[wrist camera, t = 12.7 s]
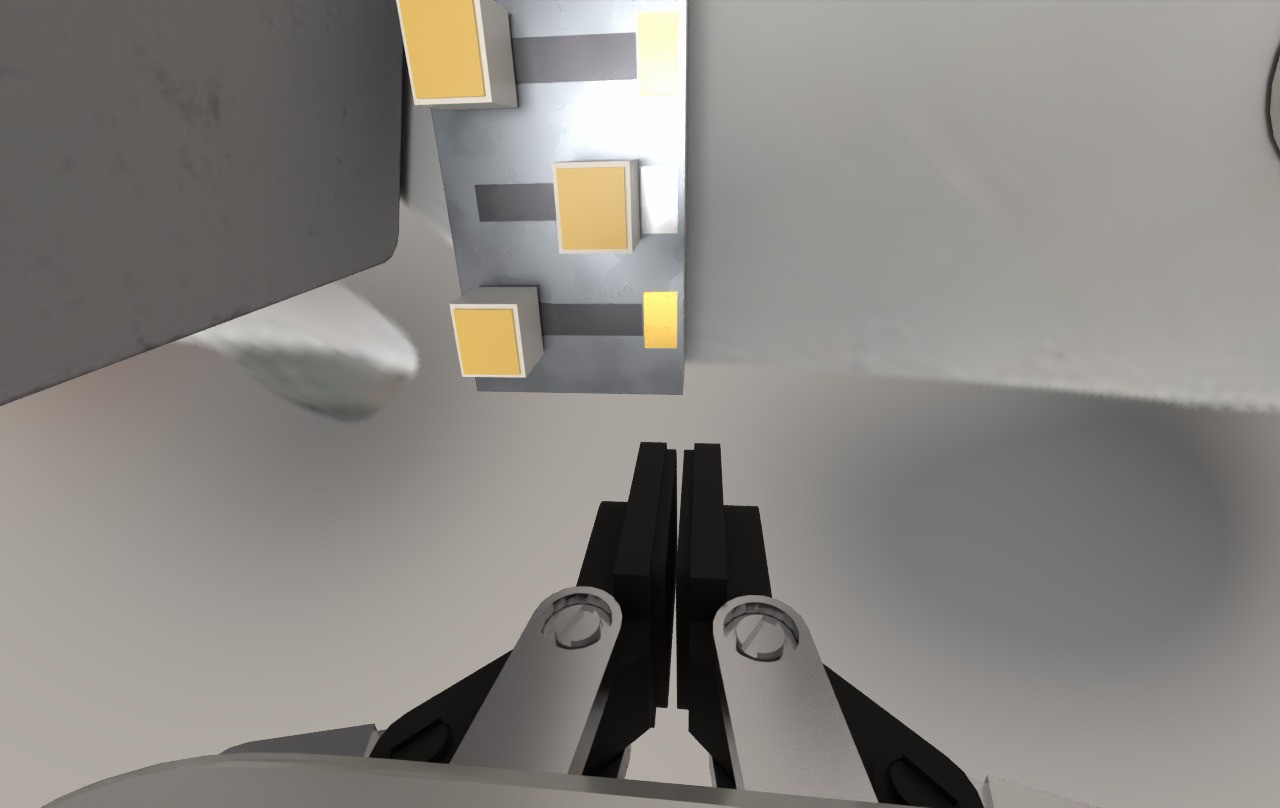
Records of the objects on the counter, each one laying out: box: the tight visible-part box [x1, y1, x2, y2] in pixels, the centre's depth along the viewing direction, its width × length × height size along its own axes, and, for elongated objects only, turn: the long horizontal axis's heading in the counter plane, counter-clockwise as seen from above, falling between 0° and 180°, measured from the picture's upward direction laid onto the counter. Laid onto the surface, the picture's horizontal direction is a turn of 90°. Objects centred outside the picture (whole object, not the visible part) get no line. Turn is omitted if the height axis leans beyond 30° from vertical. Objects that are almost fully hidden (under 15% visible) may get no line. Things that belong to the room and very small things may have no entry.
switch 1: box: [396, 0, 518, 110], centre depth 21 cm, size 3×3×3 cm
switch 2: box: [450, 287, 544, 378], centre depth 26 cm, size 3×3×3 cm
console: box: [431, 0, 689, 395], centre depth 27 cm, size 11×19×5 cm, turn 1°
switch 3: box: [552, 159, 640, 254], centre depth 23 cm, size 3×3×3 cm
